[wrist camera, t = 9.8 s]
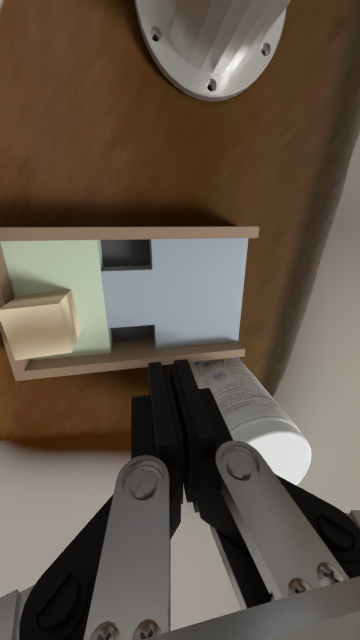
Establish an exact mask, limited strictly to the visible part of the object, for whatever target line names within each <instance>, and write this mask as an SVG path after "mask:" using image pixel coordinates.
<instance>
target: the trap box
mask: <svg viewBox="0 0 360 640" xmlns="http://www.w3.org/2000/svg"><path fill="white" fill-rule="evenodd" d="M258 233H259V227H250V226H149V227H0V308H1V307H3V306H4V305H6V304H7V303H9V302H10V301H12V300H13V299H15V298H16V297H18V296H19V295H22V294H32V293H42V292H52V291H61V290H71V291H72V295H73V300H74V304H75V308H76V312H77V316H78V320H79V325H80V329H81V333H80V335H79V337H78V340H77V342H76V344H75V346H74V348H73V351H72V353H66V354H58V355H51V356H44V357H37V358H30V359H23V360H16V361H15V358H14V356H13V353H12V350H11V348H10V345H9V342H8V340H7V337H6V334H5V332H4V329H3V326H2V324H1V321H0V332H1V335H2V339H3V342H4V345H5V348H6V352H7V355H8V358H9V361H10V364H11V368H12V371H13V374H14V377H15V380H16V381H20V380H29V379H39V378H48V377H57V376H67V375H76V374H85V373H95V372H104V371H114V370H123V369H132V368H142V367H148V363H152V362H161V365H170V364H174V360H182V359H187V360H188V362H198V361H207V360H216V359H226V358H235V357H244V355H245V348H244V347H243V346H242V345H241V344H240V343H239V342H238V336H239V326H240V316H241V306H242V296H243V287H244V277H245V267H246V257H247V247H248V238H258Z"/></svg>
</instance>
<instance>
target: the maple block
mask: <svg viewBox="0 0 360 640" xmlns="http://www.w3.org/2000/svg"><path fill="white" fill-rule="evenodd" d="M0 321H1V324H2V326H3V329H4V332H5V334H6V337H7V340H8V342H9V345H10V348H11V350H12V353H13V356H14V358H15V361H16V360H23V359H30V358H37V357H44V356H51V355H58V354H66V353H72V351H73V348H74V346H75V344H76V342H77V340H78V337H79V335H80V333H81V329H80V325H79V320H78V316H77V312H76V308H75V304H74V300H73V295H72V291H71V290H61V291H52V292H42V293H32V294H22V295H19V296H18V297H16V298H15V299H13V300H12V301H10V302H9V303H7V304H6V305H4V306H3V307H1V308H0Z"/></svg>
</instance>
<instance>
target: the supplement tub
mask: <svg viewBox="0 0 360 640" xmlns="http://www.w3.org/2000/svg"><path fill="white" fill-rule="evenodd" d="M189 365H190V367H191V370H192V372H193V375H194V378H195V380H196V383H197V385H198V388H199V389H202V388H210V390H211V392H212V394H213V396H214V398H215V400H216V403H217V405H218V407H219V409H220V412H221V414H222V416H223V418H224V420H225V423H226V425H227V427H228V429H229V431H230V434H231V436H232V438H233V440H235V441H242V442H245V443H248V444H250V445H251V446H253V447H254V448H255V449H256V450H257V451H258V452H259V453H260V454H261V455H262V457H263V458H264V460H265V461H266V462H267V464H268V465H269V467H270V468H271V469H272V471H273V472H274V474H276V475H278V476H280V477H282V478H283V479H285V480H287V481H289V482H291V483H293V484H294V485H297V484H298V483H299V482H300V481H301V480H302V478H303V477H304V475H305V474H306V472H307V470H308V468H309V466H310V462H311V449H310V446H309V444H308V442H307V441H306V439H305V438H304V437H303V436H302V434H301V432H300V430H299V429H298V428H297V426H296V425H295V424H294V423H293V422H292V420H291V419H290V418H289V417H288V415H287V414H286V413H285V412H284V411H283V409H282V408H281V407H280V406H279V405H278V404H277V403H276V401H275V400H274V399H273V398H272V396H271V395H270V394H269V393H268V392H267V391H266V389H265V388H264V387H263V386H262V385H261V383H260V382H259V381H258V380H257V379H256V378H255V376H254V375H253V374H252V373H251V372H250V371H249V369H248V368H247V367H246V366H245V365H244V364H243V363H242V361H241V360H240V359H239V358H238V357H235V358H226V359H216V360H207V361H198V362H190V363H189Z"/></svg>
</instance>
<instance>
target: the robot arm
mask: <svg viewBox="0 0 360 640" xmlns="http://www.w3.org/2000/svg"><path fill="white" fill-rule="evenodd" d="M290 1H291V0H135V7H136V12H137V18H138V23H139V26H140V29H141V32H142V36H143V39H144V42H145V44H146V46H147V48H148V50H149V52H150V54H151V56H152V59H153V60H154V62H155V63H156V65H157V66H158V68H159V69H160V71H161V72H162V74H163V75H164V76H165V77H166V78H167V79H168V80H169V81H170V82H171V83H172V84H173V85H174V86H175V87H176V88H178V89H179V90H181V91H182V92H184V93H185V94H186V95H189V96H191V97H194V98H196V99H198V100H204V101H211V102H213V101H223V100H226V99H229V98H232V97H235V96H237V95H238V94H240V93H241V92H243V91H244V90H246V89H247V88H248V87H249V86H250V85H251V84H252V83H253V82H254V81H255V80H256V79H257V78H258V77H259V75H260V74H261V73H262V72H263V70H264V69H265V68H266V66H267V65H268V63H269V61H270V60H271V58H272V56H273V54H274V52H275V50H276V47H277V44H278V42H279V39H280V37H281V33H282V29H283V25H284V21H285V15H286V7H287V5H288V4H289V3H290ZM154 38H155V39H157V42H156V41H154V40H153V39H154ZM207 87H210V89H211V91H209V90H208V88H207ZM148 372H149V389H150V395H144V396H136V397H132V401H131V434H132V435H131V436H132V438H131V443H132V444H131V446H132V447H131V449H132V450H131V451H132V453H131V460H130V461H129V462H128V463H126V464H125V465H124V466H123V468H122V469H121V471H120V472H119V474H118V477H117V480H116V485H115V490H114V494H113V495H112V497H111V498H110V499H109V500H108V501H107V502H106V503H105V504H104V506H103V507H102V508H101V509H100V510H99V511H98V512H97V513H96V515H95V516H94V517H93V518H92V519H91V520H90V522H89V523H88V524H87V525H86V526H85V527H84V528H83V529H82V530H81V532H80V533H79V534H78V535H77V536H76V537H75V539H74V540H73V541H72V542H71V543H70V544H69V545H68V546H67V548H66V549H65V550H64V551H63V552H62V553H61V554H60V556H59V557H58V558H57V559H56V560H55V561H54V562H53V563H52V565H51V566H50V567H49V568H48V569H47V570H46V571H45V572H44V574H43V575H42V576H41V578H40V579H39V580H38V581H37V583H36V584H35V585H33V586H31V587H30V588H28V589H26V590H24V591H22V592H20V593H19V591H18V590H15V591H13V592H11V593H9V594H7V595H5V596H3V597H1V598H0V640H360V511H359V510H351V512H350V514H348V513H344V512H342V511H341V510H339V509H338V508H336V507H335V506H333V505H331V504H329V503H327V502H325V501H324V500H322V499H320V498H318V497H316V496H314V495H313V494H311V493H309V492H307V491H305V490H304V489H302V488H300V487H298V486H296V485H294V484H293V483H291V482H289V481H287V480H285V479H283V478H282V477H280V476H278V475H276V474H274V472H273V471H272V469H271V468H270V467H269V465H268V464H267V462H266V461H265V460H264V458H263V457H262V455H261V454H260V453H259V452H258V451H257V450H256V449H255V448H254V447H253V446H251V445H250V444H248V443H245V442H242V441H235V440H233V438H232V436H231V434H230V431H229V429H228V427H227V425H226V423H225V420H224V418H223V416H222V414H221V412H220V409H219V407H218V405H217V403H216V400H215V398H214V396H213V394H212V392H211V390H210V388H202V389H199V388H198V385H197V383H196V380H195V378H194V375H193V372H192V370H191V367H190V365H189V362H188V360H187V359H182V360H174V364H170V379H169V374H168V370H167V366H166V365H161V362H152V363H148ZM183 484H184V489H185V494H186V499H187V502H188V503H189V502H193V505H194V510H195V513H196V512H199V513H200V517H201V518H202V519H203V520H204V521H205V522H207V523H208V524H209V525H210V528H211V532H212V534H213V537H214V540H215V542H216V545H217V548H218V550H219V553H220V556H221V558H222V561H223V563H224V566H225V568H226V571H227V574H228V576H229V579H230V581H231V584H232V587H233V589H234V592H235V595H236V597H237V600H238V602H239V605H240V608H241V611H238V612H234V613H231V614H228V615H224V616H221V617H217V618H214V619H211V620H207V621H204V622H200V623H197V624H194V625H190V626H187V627H183V628H180V629H176V630H173V631H170V567H171V566H170V565H171V564H170V562H171V559H170V558H171V557H170V554H171V550H170V549H171V546H170V545H171V544H170V543H171V538H172V536H173V534H174V533H175V531H176V529H177V528H178V526H179V524H180V522H181V504H182V503H183Z"/></svg>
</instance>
